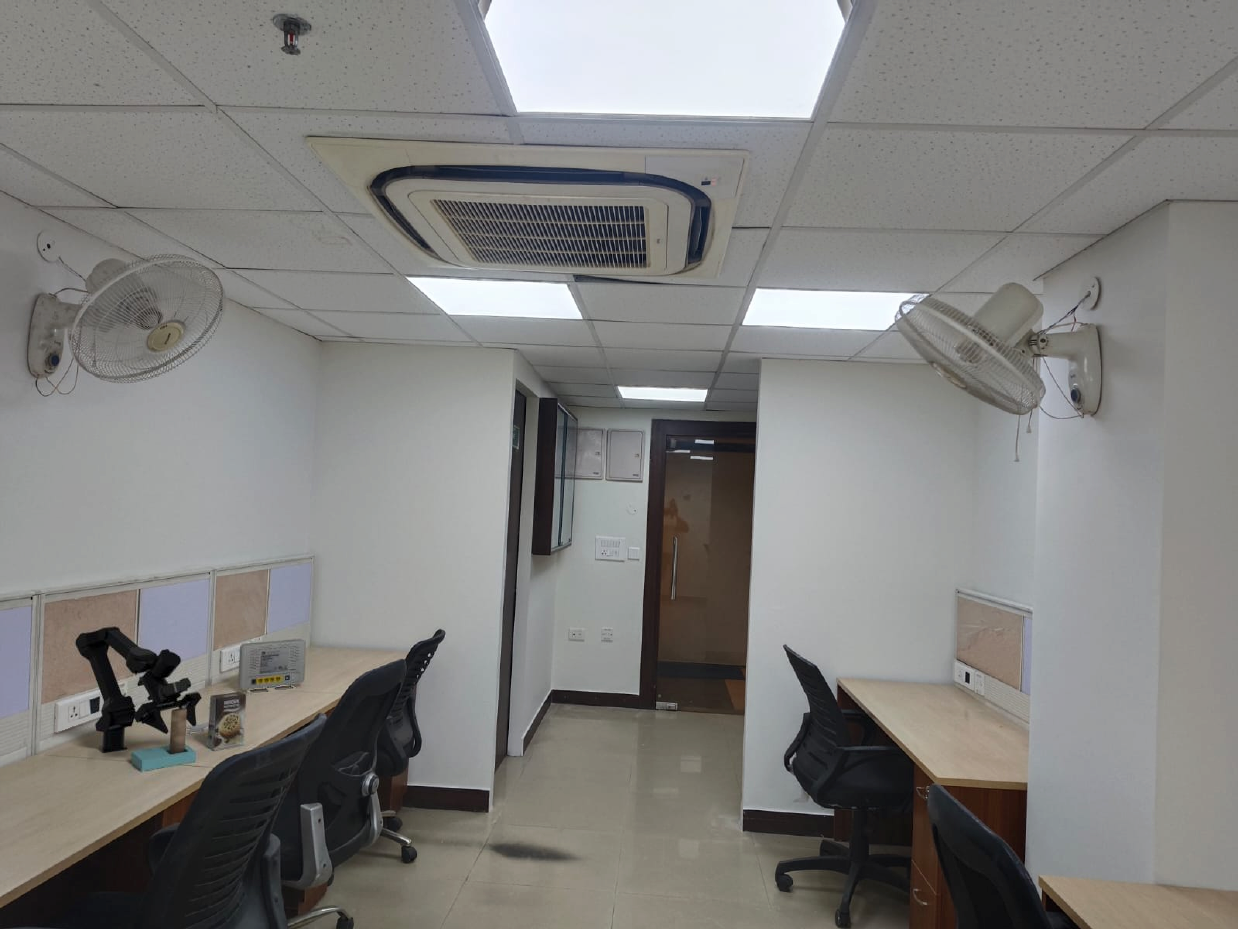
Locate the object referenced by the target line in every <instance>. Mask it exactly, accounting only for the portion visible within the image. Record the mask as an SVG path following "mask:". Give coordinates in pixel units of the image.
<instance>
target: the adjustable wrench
mask: <svg viewBox="0 0 1238 929" xmlns="http://www.w3.org/2000/svg"><path fill="white" fill-rule="evenodd" d="M245 716H247V714H246V713H245ZM206 727H209V721H208V722H205V723H201V724H196V726H194V727H193V726H192V725H186V729H190V730H189V731H188V734H189V733H191V732H198V733H200V732H199V731H201V730H204V731H205V729H204V728H206ZM206 729H207V728H206ZM201 732H202V731H201Z"/></svg>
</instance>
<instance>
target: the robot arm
mask: <svg viewBox="0 0 1238 929" xmlns="http://www.w3.org/2000/svg"><path fill="white" fill-rule="evenodd" d="M75 647H76V649H77V651H78V652H79V655H80V656H82V657H83V658H84V659H86V660H87V661H89V663H90V666H91V669H92V671H93V672H92V673H93V675H94V678H95V680H96V683H97V687H98V689H99V691H100V693H101V694H100V695H101V697H102V700H103V704H102V707H101V710H100V712H101V716H100V717H99V719H98V720H97V721H96V722H95V724H94V726H95V731H97V732H99V733H100V732H101V733H102V745H100V746H98V749H99V750H100V751H101V752H102V753H109V752H110V753H111V752H116V751H121V750H127V749H128V746H127V745H126V744H125V734H126V733H125V732H126V728H129V727H133V724H134V721H135V723H141V724H142V725H143V724H145V725H147V726H149V727H152V728H154V729H156V730H158V731H160V732H161V733H163V734H164V735H167V734H169V729H168V726H167V724H166V723H165V720H164V719H163V717H162V715H161V712H163V711H169V710H174V709H181V708H184V709H187V716H186V722H188V723H189V724H190V726H193V727H194V726H196V725H197V718H196V706H197V705H198V703H199V702H200V701H201V699H202V698H203V697H202V696H201V693H200V692H197V691H194V692H193V691H192V692H189V693H185V695H184V696H183V697H182V698H181V699H179V700H178V698H180V697H181V696H182V693H184V692H188V691H189V688H191V687H192V682H191V680H190V679H189V677H184V678H181V679H179V681H174V682H170V683H168V681H167V679H166V678H169V677H170V676H172V674H173V673H174V671H175V670H176V669H177V668H178V667H179V665H180V664H181V663H182V659H181V657H180V655H178V654H177V653H175V652H173V651H171V650H170V649H169V648H166V649H161V651H160V652H159V654H157V653H156V652H154V651H152V650H150V649H147V648H143V647H140V646H139V645H138V644H136V643H135V642H134V641H133V640H131V639H130V638H129V637H128V636H127V635H125V634H124V633H123V632H122V631H121V629H120V627H119V626H108V627H107V626H105V627H101V628H100V629H98V630H94V631H88V632H81V633H80V634H79V635H78V636H77V638H76V639H75ZM110 647H111V648H112V649H113V650H114V651H115V652H116V653H118V654H119V655H120V656H121V657H122V658H123V659H124V660H125V666H126V667H127V669H128V670H129V671H130V673H132V674H133V675H138V674H142V673H144V674H143V675H142V676H139V677H138V681H137V684H136V686H137V687H140V686H141V687H142V686H143V687H144V689H145V690H146V691H147V694H148V696H147V697H146V698H147V700H148V701H149V702H144V703H141V705H140V706H139V707H138V709H137V710H136V705H135V703H134V701H133V698H132V696H131V695H127V696H125V695H124V694H122V691H121V688H120V686H119V683H118V680H117V678H116V674H115V672H114V669H113V667H112V664H111V660H110V659H109V656H108V652H109V649H110Z"/></svg>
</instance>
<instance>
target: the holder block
mask: <svg viewBox="0 0 1238 929" xmlns="http://www.w3.org/2000/svg"><path fill="white" fill-rule="evenodd" d="M169 751H170V744H168V745H161V746H156V747H152V748H145V749H144V748H143V749H139V750H133V751H131V758H130V760H131V761H130V762H131V763H132V764H133V763H134V764H135V765H136V766H137V767H138V768H139V769H140V770H141V771H143V770H149V771H153V770H152V769H154V770H158V769H157V768H159V769H162V768H161V767H165V768H169V766H170V767H174V765H176V766H179V765H178V764H181V765H185V764H184V763H186V764H191V763H196V755H197V752H196V750H195V749H193V748H191V746H189V745H188V744H186V743H185V752H182V753H177V754H171V755H170V754H169ZM134 764H133V765H134ZM135 765H134V766H135ZM136 766H135V767H136ZM137 767H136V768H137ZM138 768H137V769H138ZM139 769H138V770H139ZM140 770H139V771H140ZM141 771H140V772H141ZM143 772H144V771H143Z"/></svg>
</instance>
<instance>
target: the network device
mask: <svg viewBox="0 0 1238 929" xmlns="http://www.w3.org/2000/svg"><path fill="white" fill-rule="evenodd" d="M306 653H307V642H306V640H304V639H301V638H297V639H296V638H295V639H283V640H272V641H270V640H269V641H260V642H259V641H258V642H246V643H245V642H244V643H242V644H241V645H240V647H239V660H238V675H237V677H238V678H237V685H238V688H239V689H241V690H245V691H247V690H248V689H254V688H263V687H267V688H276V686H280V685H295V684H296V685H297V684H303V683H304V682H305V677H306V676H305V675H306V657H307V654H306ZM276 689H277V688H276Z"/></svg>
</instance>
